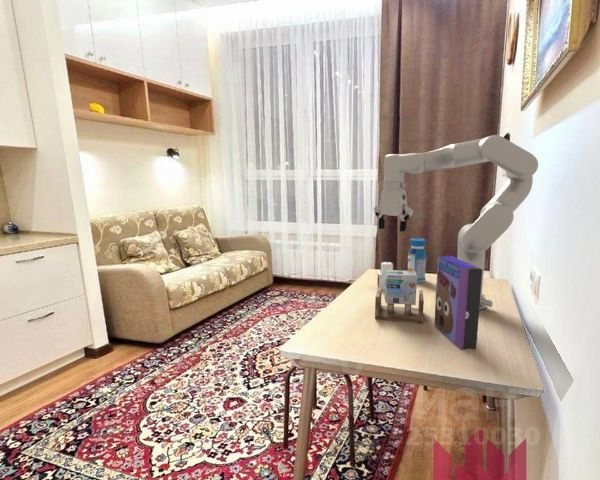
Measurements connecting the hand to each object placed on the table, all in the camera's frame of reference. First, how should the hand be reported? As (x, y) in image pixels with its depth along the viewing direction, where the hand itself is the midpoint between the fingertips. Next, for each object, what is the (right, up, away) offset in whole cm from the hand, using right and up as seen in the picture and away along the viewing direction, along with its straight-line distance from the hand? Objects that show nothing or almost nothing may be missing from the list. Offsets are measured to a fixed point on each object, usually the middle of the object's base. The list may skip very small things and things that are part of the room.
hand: (391, 229), depth 151 cm
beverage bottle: (+19, -24, +31) cm, 43 cm away
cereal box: (+11, -34, -32) cm, 49 cm away
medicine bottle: (+2, -26, +19) cm, 32 cm away
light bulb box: (-1, -26, -14) cm, 30 cm away
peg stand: (-1, -31, -14) cm, 34 cm away
